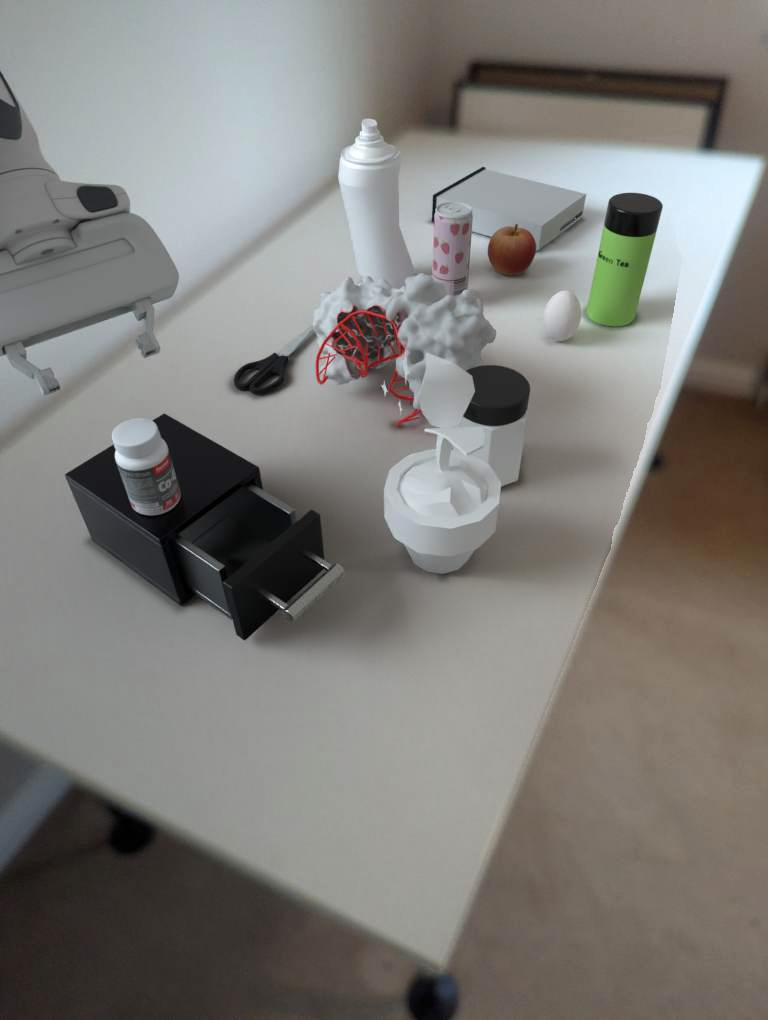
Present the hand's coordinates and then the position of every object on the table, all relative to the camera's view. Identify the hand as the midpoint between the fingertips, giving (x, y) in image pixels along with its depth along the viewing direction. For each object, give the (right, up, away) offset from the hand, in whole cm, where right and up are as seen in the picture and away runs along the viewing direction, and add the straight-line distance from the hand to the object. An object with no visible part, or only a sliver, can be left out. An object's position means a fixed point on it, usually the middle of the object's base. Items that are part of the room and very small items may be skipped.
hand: (103, 372), depth 66 cm
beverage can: (+35, +20, +51) cm, 65 cm away
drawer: (+12, -20, +9) cm, 25 cm away
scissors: (+11, +10, +40) cm, 43 cm away
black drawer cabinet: (+3, -15, +15) cm, 22 cm away
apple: (+46, +28, +58) cm, 80 cm away
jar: (+37, -7, +23) cm, 44 cm away
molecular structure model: (+27, +3, +33) cm, 43 cm away
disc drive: (+48, +42, +73) cm, 97 cm away
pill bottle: (+3, -11, +5) cm, 13 cm away
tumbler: (+60, +18, +48) cm, 79 cm away
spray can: (+25, +25, +55) cm, 65 cm away
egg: (+51, +13, +43) cm, 68 cm away
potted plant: (+31, -17, +13) cm, 38 cm away
